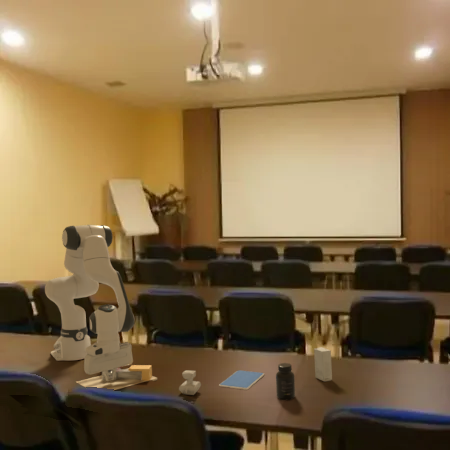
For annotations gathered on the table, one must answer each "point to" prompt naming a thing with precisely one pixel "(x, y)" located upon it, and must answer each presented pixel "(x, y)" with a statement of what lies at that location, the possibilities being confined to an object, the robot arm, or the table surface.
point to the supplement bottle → (285, 382)
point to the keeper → (143, 370)
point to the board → (110, 382)
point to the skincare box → (323, 364)
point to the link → (125, 374)
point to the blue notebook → (242, 380)
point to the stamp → (189, 383)
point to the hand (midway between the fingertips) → (109, 380)
